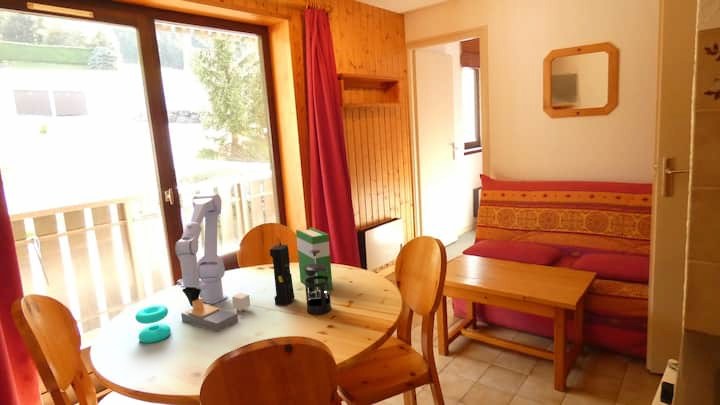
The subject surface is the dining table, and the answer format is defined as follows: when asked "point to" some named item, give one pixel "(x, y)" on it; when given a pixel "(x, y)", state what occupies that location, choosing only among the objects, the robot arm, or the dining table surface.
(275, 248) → the portable radio
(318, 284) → the french press
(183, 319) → the grey recessed box
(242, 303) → the beige rectangular block
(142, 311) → the cyan discs
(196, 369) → the dining table surface
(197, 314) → the shutter
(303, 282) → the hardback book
